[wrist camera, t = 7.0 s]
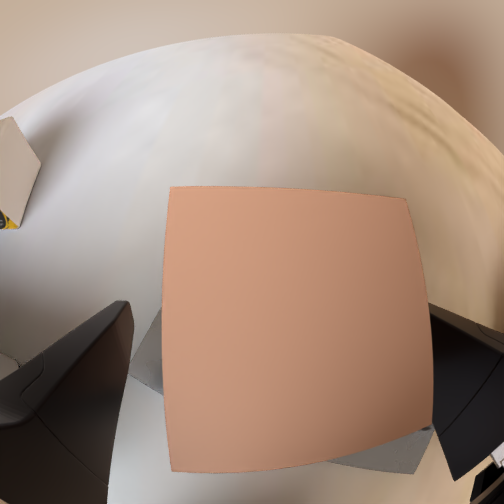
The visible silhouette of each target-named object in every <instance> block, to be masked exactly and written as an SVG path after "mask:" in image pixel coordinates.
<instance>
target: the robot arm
mask: <svg viewBox="0 0 504 504" xmlns="http://www.w3.org/2000/svg"><path fill="white" fill-rule="evenodd" d="M428 307H429V315H430V324H431V336H432V351H433V412H432V423H433V426H434V428H435V431H436V433H437V436H438V439H439V441H440V444H441V446H442V449H443V452H444V455H445V457H446V460H447V463H448V466H449V469H450V472H451V475H452V478H453V480H454V481H456V480H458V479H459V478H461V477H462V476H463V475H465V474H466V473H467V472H469V471H470V470H471V469H473V468H474V467H475V466H476V465H478V464H479V463H480V462H481V461H483V460H484V459H485V458H486V457H487V456H489V455H490V457H491V458H492V460H493V462H491V463H490V464H489V465H488V466H487V467H486V468H485V469H484V470H482V471H481V472H480V473H479V474H478V475H476V477H475V481H474V486H473V490H472V494H471V498H470V504H504V334H503V333H500V332H498V331H495V330H493V329H490V328H488V327H485V326H483V325H481V324H478V323H475V322H474V321H471V320H469V319H466V318H464V317H462V316H459V315H457V314H455V313H452V312H450V311H447V310H445V309H443V308H440V307H438V306H435V305H433V304H431V303H428ZM133 334H134V320H133V316H132V311H131V306H130V303H129V302H128V301H115V302H114V303H112V304H111V305H109V306H108V307H106V308H105V309H103V310H102V311H100V312H99V313H97V314H96V315H94V316H93V317H91V318H90V319H88V320H87V321H86V322H84V323H83V324H81V325H80V326H78V327H77V328H75V329H74V330H72V331H71V332H70V333H68V334H67V335H65V336H64V337H62V338H61V339H60V340H58V341H57V342H55V343H54V344H53V345H51V346H50V347H48V348H47V349H46V350H44V351H43V353H40V354H39V355H37V356H36V357H34V358H33V359H32V360H30V361H29V362H27V363H26V364H24V365H23V366H22V367H20V368H18V369H17V370H15V371H14V372H12V373H11V374H9V375H7V376H6V377H4V378H3V379H1V380H0V504H107V496H108V484H109V475H110V467H111V459H112V452H113V446H114V439H115V433H116V428H117V422H118V417H119V412H120V407H121V402H122V397H123V392H124V388H125V383H126V379H127V375H128V370H129V364H130V356H131V348H132V340H133Z"/></svg>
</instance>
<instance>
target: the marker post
mask: <svg viewBox="0 0 504 504" xmlns="http://www.w3.org/2000/svg"><path fill="white" fill-rule="evenodd" d="M162 371H163V391H164V406H165V419H166V430H167V439H168V448H169V456H170V463H171V470H172V471H173V472H188V473H238V472H253V471H264V470H274V469H282V468H289V467H295V466H301V465H307V464H312V463H317V462H322V461H326V460H331V459H335V458H339V457H343V456H347V455H350V454H354V453H357V452H361V451H364V450H367V449H370V448H373V447H376V446H379V445H382V444H385V443H388V442H391V441H393V440H396V439H399V438H401V437H404V436H406V435H409V434H411V433H413V432H416V431H418V430H420V429H422V428H425V427H427V426H429V425H431V424H432V412H433V351H432V336H431V324H430V315H429V307H428V299H427V292H426V286H425V280H424V274H423V268H422V263H421V258H420V253H419V249H418V244H417V240H416V236H415V232H414V228H413V224H412V220H411V216H410V213H409V209H408V206H407V202H406V199H402V198H394V197H386V196H377V195H368V194H358V193H347V192H336V191H323V190H308V189H291V188H269V187H231V186H186V187H170V194H169V203H168V212H167V223H166V234H165V248H164V264H163V285H162Z"/></svg>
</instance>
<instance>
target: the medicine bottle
mask: <svg viewBox="0 0 504 504" xmlns="http://www.w3.org/2000/svg"><path fill="white" fill-rule="evenodd" d="M40 167H41V162H40V161H39V159H38V158H37V156H36V155H35V153H34V152H33V150H32V149H31V147H30V145H29V144H28V142H27V140H26V139H25V137H24V136H23V134H22V132H21V130H20V129H19V127H18V125H17V124H16V122H15V120H14V118H13V117H8V118H5V119H2V120H0V230H6V229H18V228H19V227H20V224H21V220H22V217H23V214H24V211H25V207H26V204H27V201H28V199H29V196H30V193H31V190H32V187H33V185H34V182H35V180H36V177H37V175H38V172H39V170H40Z"/></svg>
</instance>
